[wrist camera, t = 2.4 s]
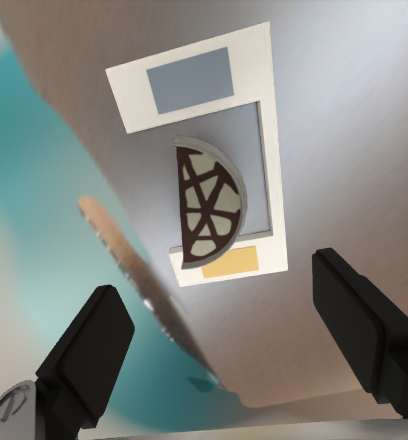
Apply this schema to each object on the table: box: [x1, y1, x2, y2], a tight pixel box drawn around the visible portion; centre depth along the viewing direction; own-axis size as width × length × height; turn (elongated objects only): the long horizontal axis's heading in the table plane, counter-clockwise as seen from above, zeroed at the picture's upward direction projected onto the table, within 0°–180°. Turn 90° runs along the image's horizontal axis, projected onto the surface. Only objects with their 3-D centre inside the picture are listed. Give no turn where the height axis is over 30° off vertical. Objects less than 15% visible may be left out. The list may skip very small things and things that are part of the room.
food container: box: [173, 135, 247, 270], centre depth 22 cm, size 12×6×10 cm, turn 0°
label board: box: [105, 21, 288, 287], centre depth 26 cm, size 16×28×2 cm, turn 13°
